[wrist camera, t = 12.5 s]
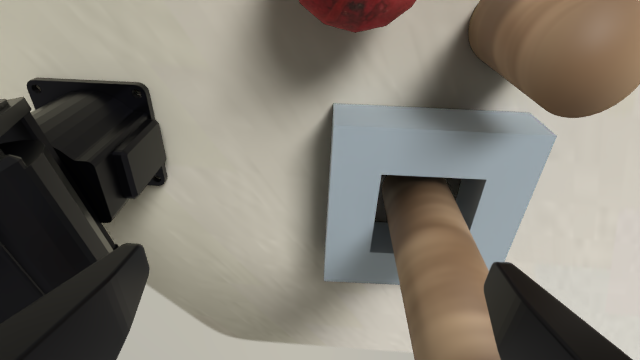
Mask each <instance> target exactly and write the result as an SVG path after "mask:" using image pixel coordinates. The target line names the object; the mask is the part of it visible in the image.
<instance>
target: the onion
mask: <svg viewBox="0 0 640 360" xmlns="http://www.w3.org/2000/svg"><path fill="white" fill-rule="evenodd" d="M415 1H416V0H299V2H300V4H301V5H302V6H304V7H305V8H306V9H307V10H308V11H310V12H311V13H312V14H313V15H314V16H315V17H317V18H318V19H319V20H320V21H321V22H322V23H324V24H326V25H329V26H333V27H337V28H340V29H344V30H348V31H351V32H355V33H356V32H360V31H365V30H369V29H374V28H378V27H383V26H386V25H388V24H389V23H390V22H392V21H393V20H394V19H396V18H397V17H398V16H400V15H401V14H403V13H404V12H405V11H407V10H408V9H409V8H411V7H412V6H413V4H414V3H415Z"/></svg>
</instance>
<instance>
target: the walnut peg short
mask: <svg viewBox="0 0 640 360" xmlns="http://www.w3.org/2000/svg"><path fill="white" fill-rule="evenodd" d="M468 37H469V43H470V46H471V49H472V50H473V52H474V53H475V55H476V56H477V57H478V58H479V59H481V60H482V61H483V62H484V63H486V64H487V65H488V66H490V67H491V68H492V69H493V70H495V71H496V72H497V73H499V74H500V75H501V76H502V77H504V78H505V79H506V80H508V81H509V82H510V83H511V84H513V85H514V86H515V87H517V88H518V89H519V90H520V91H522V92H523V93H524V94H526V95H527V96H528V97H529V98H531V99H532V100H533V101H535V102H536V103H537V104H538V105H540V106H541V107H542V108H544V109H545V110H546V111H548V112H550V113H552V114H554V115H557V116H561V117H567V118H579V117H586V116H590V115H594V114H596V113H599V112H602V111H604V110H606V109H608V108H610V107H612V106H614V105H616V104H617V103H619V102H620V101H622V100H623V99H624V98H626V97H627V96H628V95H629V94H630V93H631V92H633V91H634V90H635V89H636V88H637V87H638V85H639V84H640V1H638V0H481V1H480V2H479V3H478V5H477V6H476V8H475V10H474V12H473V14H472V16H471V19H470V23H469V28H468Z"/></svg>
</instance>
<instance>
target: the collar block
mask: <svg viewBox="0 0 640 360" xmlns="http://www.w3.org/2000/svg"><path fill="white" fill-rule="evenodd" d="M556 137H557V136H556V135H555V134H554V133H553V132H552V131H551V130H549V129H548V128H547V127H546V126H545V125H544V124H542V123H541V122H540V121H539V120H538V119H537V118H535V117H534V116H533V115H532V114H531V113H527V112H506V111H485V110H463V109H442V108H421V107H400V106H378V105H357V104H336V103H333V120H332V137H331V153H330V170H329V186H328V203H327V219H326V236H325V256H324V281H334V282H355V283H375V284H396V285H400V282H399V277H398V272H397V267H396V262H395V257H394V252H393V247H392V241H391V236H390V231H389V226H388V223H386V222H374V221H375V214H376V207H377V201H378V194H379V187H380V181H381V175H401V176H422V177H443V178H462V180H461V183H460V187H459V190H458V194H457V197H456V203H457V205H458V207H459V210H460V212H461V214H462V216H463V218H464V220H465V222H466V224H467V226H468V228H469V230H470V233H471V235H472V237H473V239H474V241H475V243H476V245H477V247H478V249H479V251H480V254H481V256H482V258H483V260H484V262H485V264H486V266H487V268H488V270H490V268H491V265H492V264H493V263H494V262H504V261H505V259H506V256H507V254H508V252H509V249H510V247H511V244H512V242H513V240H514V237H515V235H516V232H517V230H518V228H519V225H520V223H521V220H522V218H523V216H524V213H525V211H526V209H527V206H528V204H529V201H530V199H531V197H532V194H533V192H534V189H535V187H536V185H537V182H538V180H539V177H540V175H541V173H542V170H543V168H544V166H545V163H546V161H547V158H548V156H549V154H550V151H551V149H552V146H553V144H554V142H555V139H556Z"/></svg>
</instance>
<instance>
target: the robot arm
mask: <svg viewBox="0 0 640 360" xmlns="http://www.w3.org/2000/svg"><path fill="white" fill-rule="evenodd" d="M37 85H38V86H39V87H40V88H41V91H40V90H39V89H38V88H37ZM27 89H28V92H29V94H30V97H31V99H32V102H33V104H34V107H35V109H36V110H35V111H33V112H31V113H30V111H31V108H30V106H29V104H28V103H27V101H26V100H25V98H24V97H20V98H15V99H10V100H6V99H0V360H116V359H117V357H118V355H119V353H120V351H121V348H122V346H123V344H124V342H125V339H126V337H127V335H128V333H129V331H130V328H131V325H132V323H133V320H134V317H135V314H136V311H137V308H138V305H139V302H140V299H141V296H142V293H143V290H144V287H145V285H146V282H147V279H148V276H149V264H148V261H147V257H146V254H145V251H144V248H143V246H142V245H141V244H131V243H126V244H123V245H121V246H120V247H119V246H118V245H117V244H114V242H113V241H112V239H111V238H110V236H109V235H108V233H107V231H106V230H105V228H104V227H103V225H102V224H101V223H109V222H111V221H112V220H113V219H114V217H115V216H116V215H117V214H118V212H119V211H120V210H121V209H122V207H123V206H124V205H125V204H126V202H127V201H128V200H129V199H135V198H137V197H138V196H139V195H140V193H141V192H142V191H143V189H144V188H145V187H146V186H147V185H155V186H160V185H163V184H164V182H165V181H166V179H167V173H166V168H165V164H164V162H165V161H166V155H165V150H164V145H163V140H162V136H161V131H160V126H159V123H158V122H157V121H156V120H155V117H154V112H153V108H152V103H151V98H150V94H149V90H148V88H147V87H146V86H145V85H144V84H142V83H138V82H118V81H97V80H76V79H54V78H34V79H32V80H30V81H29V82H27ZM135 89H137V90H139V91H140V92H141V94H142V96H140V95H138V94H137V93H136V91H135ZM156 176H159V177H160V178H161V179H158V178H157V177H156ZM484 295H485V300H486V304H487V308H488V312H489V317H490V321H491V325H492V330H493V334H494V338H495V342H496V346H497V350H498V353H499V356H500V359H501V360H633V359H631V358H630V357H629V356H628V355H626V354H625V353H624V352H623V351H621V350H620V349H619V348H618V347H616V346H615V345H614V344H612V343H611V342H610V341H609V340H607V339H606V338H605V337H604V336H602V335H601V334H600V333H599V332H597V331H596V330H595V329H594V328H592V327H591V326H590V325H589V324H587V323H586V322H585V321H584V320H582V319H581V318H580V317H579V316H577V315H576V314H575V313H574V312H572V311H571V310H570V309H569V308H567V307H566V306H565V305H564V304H562V303H561V302H560V301H558V300H557V299H556V298H555V297H553V296H552V295H551V294H550V293H548V292H547V291H546V290H545V289H543V288H542V287H541V286H540V285H538V284H537V283H536V282H535V281H533V280H532V279H531V278H530V277H528V276H527V275H526V274H525V273H523V272H522V271H521V270H520V269H518V268H517V267H516V266H515V265H513V264H512V263H509V262H494V263H493V264H492V265H491V268H490V270H489V273H488V275H487V278H486V280H485V283H484Z"/></svg>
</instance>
